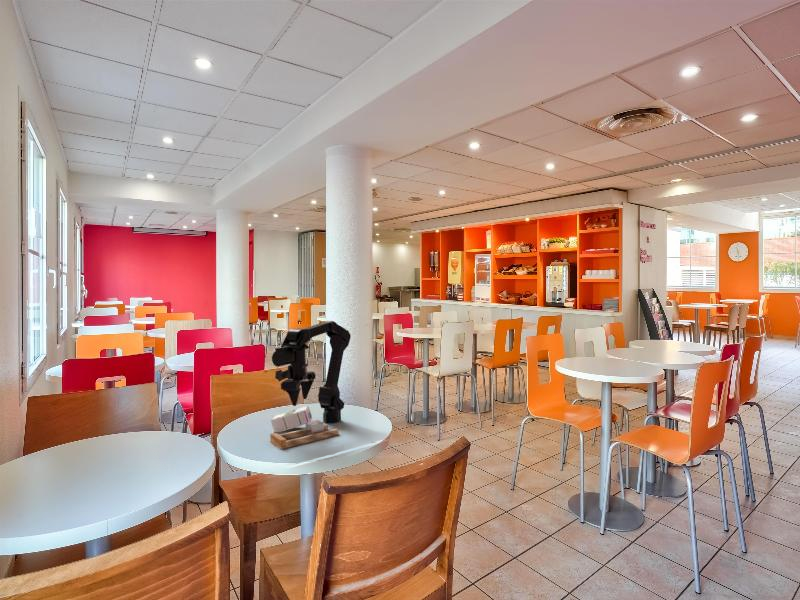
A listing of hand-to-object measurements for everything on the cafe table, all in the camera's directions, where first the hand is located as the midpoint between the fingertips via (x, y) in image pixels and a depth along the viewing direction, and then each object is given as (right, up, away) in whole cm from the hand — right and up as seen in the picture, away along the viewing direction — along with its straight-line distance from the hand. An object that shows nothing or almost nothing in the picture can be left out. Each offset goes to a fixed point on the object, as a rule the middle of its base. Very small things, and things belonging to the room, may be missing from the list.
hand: (299, 402), depth 174 cm
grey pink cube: (+6, -12, -3) cm, 14 cm away
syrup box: (-12, -10, +5) cm, 16 cm away
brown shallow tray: (+3, -13, -5) cm, 14 cm away
